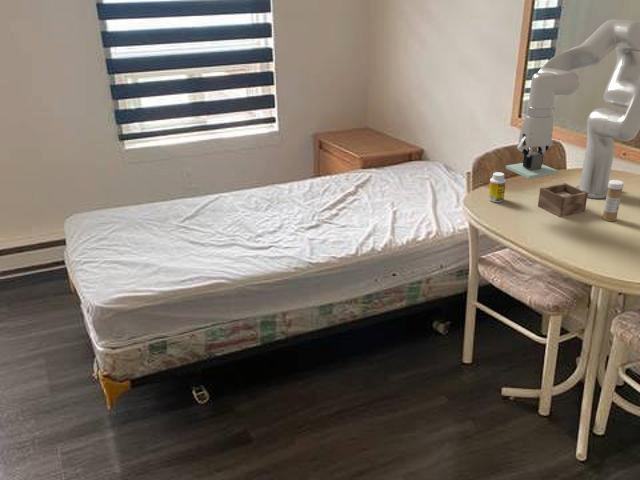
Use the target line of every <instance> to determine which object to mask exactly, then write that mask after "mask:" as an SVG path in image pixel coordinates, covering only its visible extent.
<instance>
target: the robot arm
mask: <svg viewBox="0 0 640 480" xmlns="http://www.w3.org/2000/svg"><path fill="white" fill-rule="evenodd" d="M614 49H615V54H616V63H615V66H614V69H613V71H612V73H611V75H610V77H609V80H608V82H607V84H606V87H605V90H604V93H603V100H604V102H605V103H606V104H608V105H610V106H614V107H619V108H623V109H626V111H623V110H622V111H621V110H618V109H613V108H608V107H599V108H595V109H593V110H592V111H591V112H590V113H589V115H588V117H587V120H586V131H587V132H586V133H587V135H586V137H587V138H586V145H585V146H586V147H585V152H584V158H583V164H582V171H581V175H580V181H579V184H578V185H576V186H574V187H575V188H578V189H580V190H582V191H585V192H587V193H588V196H587V199H588V198H589V199H606V196H607V192H608V183H609V181H610V176H611V172H612V165H613V162H614V161H613V160H614V156H615V155H614V154H615V149H616V147H615V146H616V145H615V140H616V141H617V140H618V141H623V142H629V141H630V142H631V141H632V140H633V139H634V138H635V137H637V135H638V134H639V131H640V80H639V77H640V21H639V20H633V19H632V20H631V19H617V18H616V19H615V18H612V19H608V20H607V21H605V22H603V23H602V24H601V25H600V26H599V27H598V28H597V29H596V30H595V31H594V32H593V33H592V34H591V35H589V36H588V37H587V38H586V39H585V40H584V41H583V42H582V43H580V44H579V45H576V46H575V47H572V48H570V49H567V50H565V51H562V52H561V53H558V54H556V55H554V56H553V57H551V58H550V59H549V60H548V61H547V62H546V63H545V64H543V65H542V66H541V68H540V69H539V70H538V71H537V72H536V73H534V74H533V75H532V77H531V83H530V91H529V98H528V107H527V112H526V113H527V115H525V116H524V118H523V121H522V124H521V127H520V132H519V133H520V134H519V138H518V145H517V146H516V150H518V151H520V153H522V155H523V162H522V163H523V166H524V167H526V168H530V167H531V160H532V157H531V153H532V152H533V150H534V148H536V152H537V153H540V154H542V155H543V156H545V155H546V152H547V151H548V150H549V148H551V147H552V146H553V145H554V142H553V139H552V138H553V132H554V131H553V128H554V120H553V119H554V117H553V116H552V114H553V112H554V111H555V107H554V104H555V96H569V95H572V94H574V93H575V92H577V91H578V89H579V88H580V83H581V79H580V77H579V75H578V74H577V73H576V72H573V70H580V69H581V70H582V69H586V68H591V67H594V66H598V64H600V63H601V62H602V61H603V60H604V59H605V58H606V57H607V56H608V55H609V54H610V53H612V52H613V51H614ZM543 159H544V157H543V158H542V163H543V161H544V160H543ZM541 166H542V165H541Z"/></svg>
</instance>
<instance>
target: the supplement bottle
mask: <svg viewBox="0 0 640 480" xmlns="http://www.w3.org/2000/svg"><path fill="white" fill-rule="evenodd" d="M506 182H507V180H506V178H505V173H503V172H499V171H497V172H493V174H492V177H491V178H490V180H489V187H488V188H489V189H488V201H490V202H493V203H502V202H503V201H504V200H505V191H506V184H507V183H506Z"/></svg>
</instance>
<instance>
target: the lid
mask: <svg viewBox="0 0 640 480" xmlns="http://www.w3.org/2000/svg"><path fill="white" fill-rule="evenodd" d="M531 157H532V160H531V167H530V168H526V167H524V166H523V162H519V163H514V164H508V165H505V169H506V170H509V171H511V172H512V173H514V174H517V175H519V176H522V177H523V178H526V179H528V180H531V179H532V180H533V179H539V178H545V177H549V176H553V175H559V172H560V170H558V169H555V168H553V167H550V166H548V165H545V164H543V162H542V158H543V159H544V155H542V154H540V153H538V152H537V151H532V153H531ZM541 165H542V166H541Z"/></svg>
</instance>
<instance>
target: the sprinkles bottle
mask: <svg viewBox="0 0 640 480" xmlns="http://www.w3.org/2000/svg"><path fill="white" fill-rule="evenodd" d="M624 184H625V183H624V181H622V180H619V179H611V180H610V179H609V183H608V192H607V196H606V198H605V202H604V206H603V207H604V208H603V213H602V216H601V217H602V219H603V220H604V221H607V222H615V221H617V219H618V213H619V211H620V210H619V209H620V204H621V201H622V200H621V198H622V193H623V189H624Z"/></svg>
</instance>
